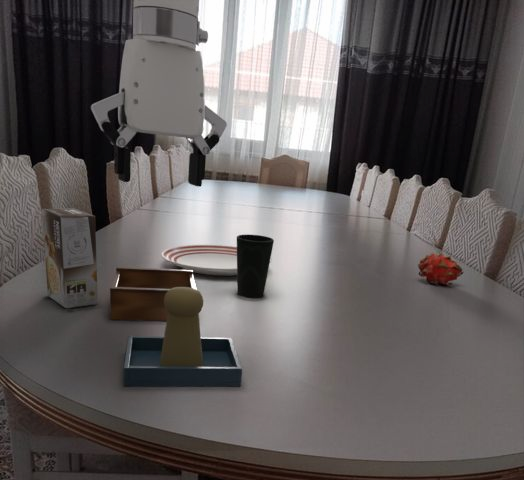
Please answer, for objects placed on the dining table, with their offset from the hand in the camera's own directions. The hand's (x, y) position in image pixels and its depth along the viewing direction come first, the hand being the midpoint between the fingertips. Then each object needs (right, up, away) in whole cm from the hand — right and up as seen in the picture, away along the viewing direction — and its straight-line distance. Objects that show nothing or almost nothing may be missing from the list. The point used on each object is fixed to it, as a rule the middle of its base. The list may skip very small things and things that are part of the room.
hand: (160, 183), depth 68 cm
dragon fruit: (+60, -4, +69) cm, 91 cm away
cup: (+11, -10, +43) cm, 45 cm away
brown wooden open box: (-7, -14, +29) cm, 33 cm away
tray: (+2, -25, +5) cm, 25 cm away
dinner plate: (+2, -1, +63) cm, 63 cm away
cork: (+2, -24, +5) cm, 25 cm away
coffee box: (-22, -13, +28) cm, 38 cm away
